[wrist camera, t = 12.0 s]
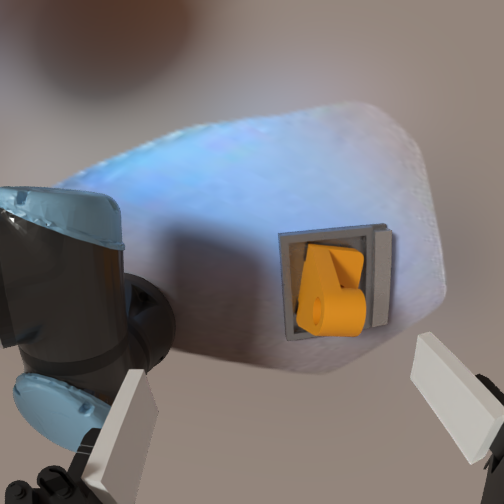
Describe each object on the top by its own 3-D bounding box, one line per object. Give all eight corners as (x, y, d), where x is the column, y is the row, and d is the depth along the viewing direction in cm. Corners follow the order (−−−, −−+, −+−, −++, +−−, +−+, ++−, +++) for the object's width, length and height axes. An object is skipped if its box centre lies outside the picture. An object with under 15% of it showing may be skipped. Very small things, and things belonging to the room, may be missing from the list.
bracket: (343, 319, 44) (372, 365, 33) (295, 316, 44) (312, 366, 32) (358, 247, 42) (397, 276, 30) (307, 242, 41) (332, 271, 29)
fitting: (285, 334, 45) (287, 343, 43) (278, 233, 41) (280, 237, 39) (380, 319, 45) (387, 327, 43) (384, 223, 41) (391, 226, 39)
